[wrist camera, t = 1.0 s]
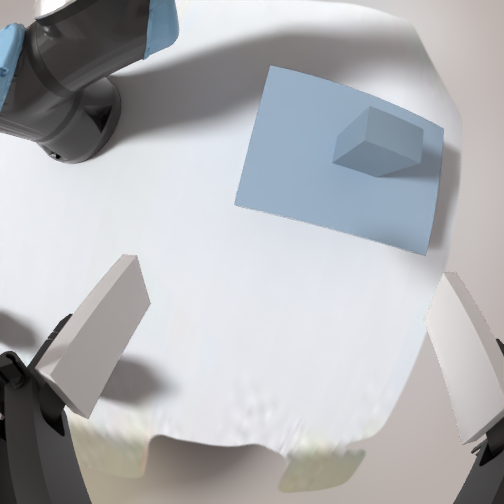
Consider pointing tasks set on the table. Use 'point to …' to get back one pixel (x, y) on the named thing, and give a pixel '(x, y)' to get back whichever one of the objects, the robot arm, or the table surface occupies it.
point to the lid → (342, 161)
